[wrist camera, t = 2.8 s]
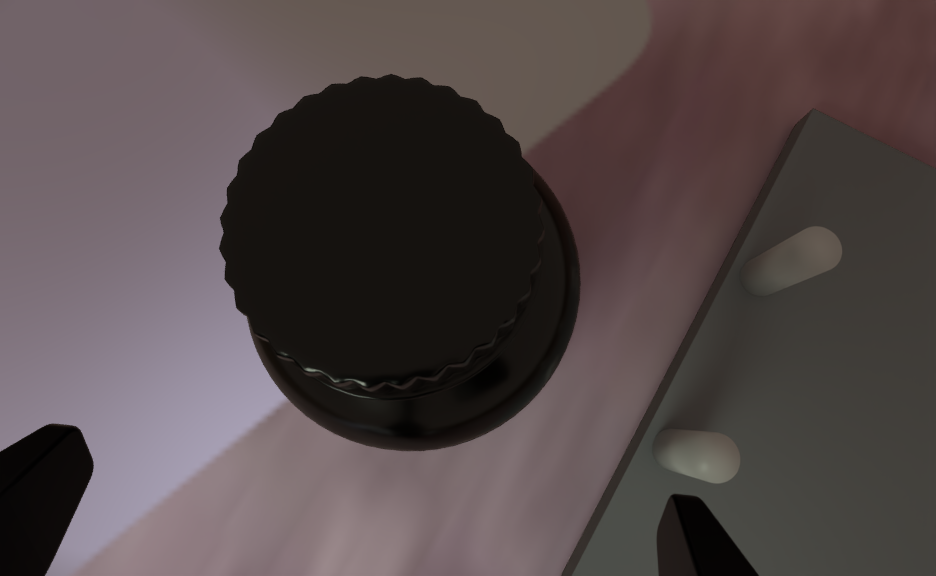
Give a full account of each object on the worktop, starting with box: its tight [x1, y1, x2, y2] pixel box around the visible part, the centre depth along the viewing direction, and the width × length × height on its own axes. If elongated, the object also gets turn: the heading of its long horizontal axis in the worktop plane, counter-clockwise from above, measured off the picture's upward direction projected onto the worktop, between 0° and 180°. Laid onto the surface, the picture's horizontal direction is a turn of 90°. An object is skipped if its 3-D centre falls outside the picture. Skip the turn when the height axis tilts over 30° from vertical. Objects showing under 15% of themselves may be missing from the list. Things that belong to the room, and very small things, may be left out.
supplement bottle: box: [219, 74, 581, 451], centre depth 15 cm, size 7×7×12 cm
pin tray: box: [561, 109, 936, 576], centre depth 17 cm, size 18×13×5 cm
